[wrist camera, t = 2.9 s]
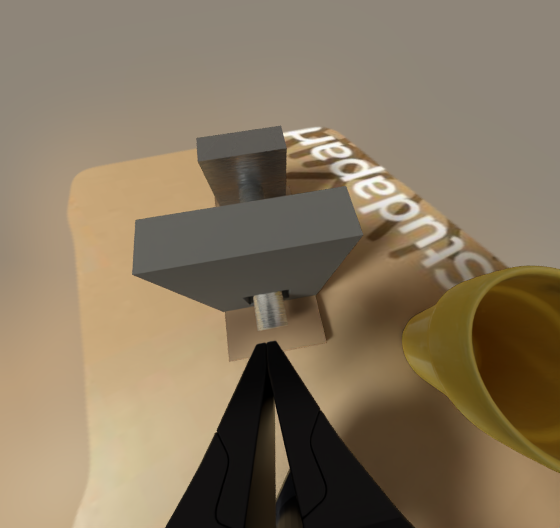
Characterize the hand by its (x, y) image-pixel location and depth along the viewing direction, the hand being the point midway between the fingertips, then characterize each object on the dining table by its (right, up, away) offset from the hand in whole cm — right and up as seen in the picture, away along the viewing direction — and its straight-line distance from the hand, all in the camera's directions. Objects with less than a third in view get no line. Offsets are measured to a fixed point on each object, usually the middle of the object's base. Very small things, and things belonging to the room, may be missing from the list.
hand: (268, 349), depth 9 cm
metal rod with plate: (-1, +5, +13) cm, 14 cm away
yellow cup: (+15, -5, +11) cm, 20 cm away
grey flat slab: (-1, +1, +12) cm, 12 cm away
